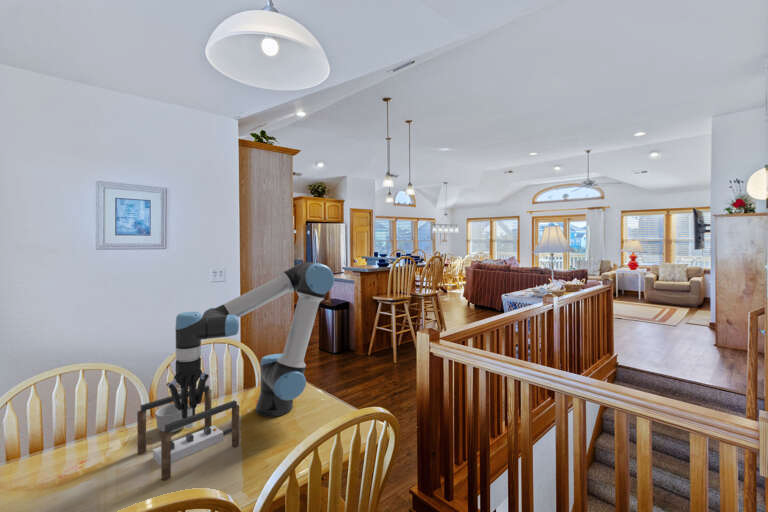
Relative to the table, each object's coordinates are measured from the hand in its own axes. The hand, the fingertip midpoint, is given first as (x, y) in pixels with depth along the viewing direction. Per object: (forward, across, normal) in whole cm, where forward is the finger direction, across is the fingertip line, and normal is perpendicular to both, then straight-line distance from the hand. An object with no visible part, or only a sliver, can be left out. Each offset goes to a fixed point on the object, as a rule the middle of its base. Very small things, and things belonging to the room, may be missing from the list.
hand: (188, 426), depth 120 cm
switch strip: (+8, -3, 0) cm, 9 cm away
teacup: (+8, -3, -19) cm, 21 cm away
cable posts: (+8, 0, 0) cm, 8 cm away
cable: (-6, 0, +10) cm, 12 cm away
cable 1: (-6, 0, -10) cm, 12 cm away
